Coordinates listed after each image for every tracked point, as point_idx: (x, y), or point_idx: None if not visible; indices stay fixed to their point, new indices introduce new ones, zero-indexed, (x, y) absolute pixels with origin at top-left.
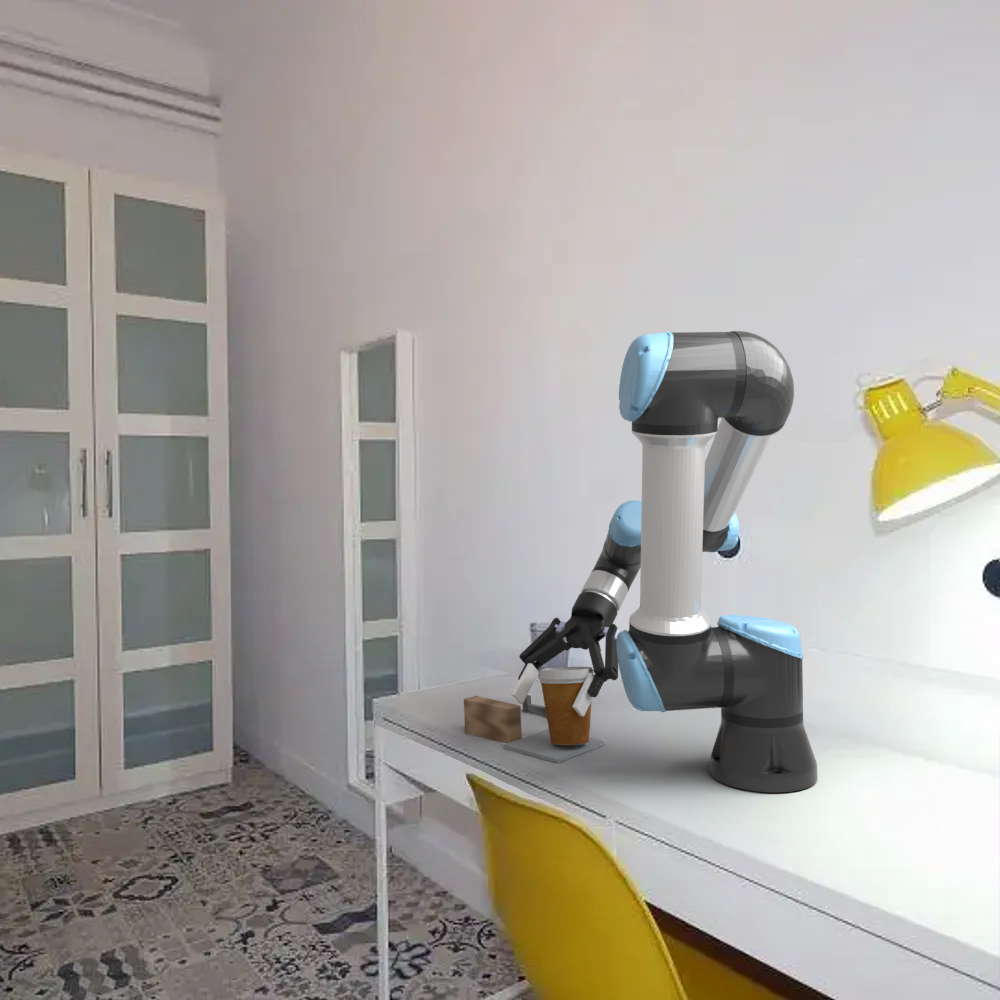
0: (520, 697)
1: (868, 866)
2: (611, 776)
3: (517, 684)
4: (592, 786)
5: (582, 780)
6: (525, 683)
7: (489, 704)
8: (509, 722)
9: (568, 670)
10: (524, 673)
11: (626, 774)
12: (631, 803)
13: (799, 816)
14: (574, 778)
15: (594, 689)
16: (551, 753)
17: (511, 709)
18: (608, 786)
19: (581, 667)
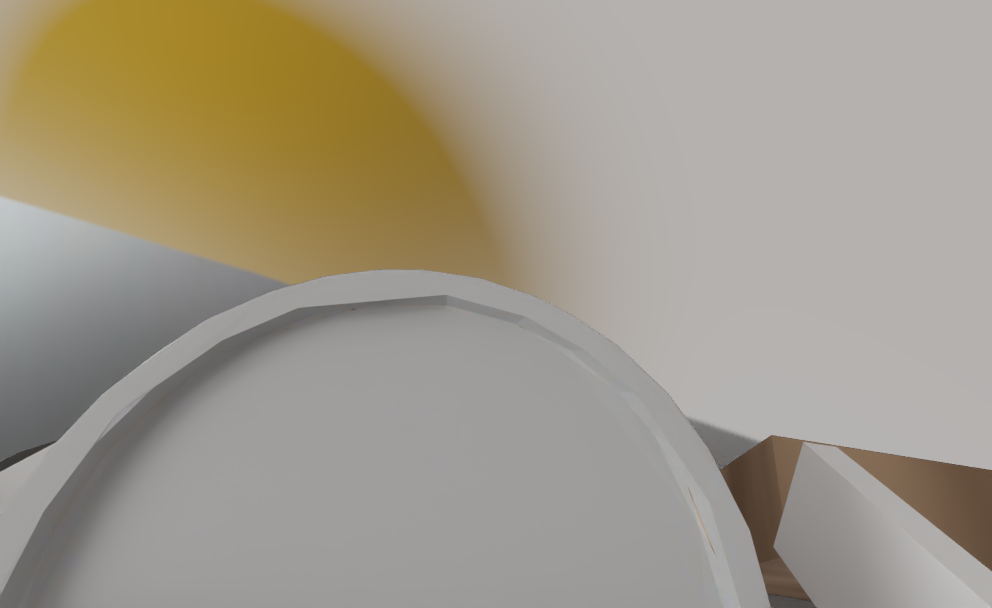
0: (799, 516)
1: None
2: (119, 361)
3: (895, 500)
4: (171, 260)
5: (220, 287)
6: (878, 573)
7: (955, 475)
8: (735, 465)
9: (223, 313)
10: (985, 582)
11: (58, 405)
12: (22, 206)
13: None
14: (253, 291)
15: (6, 463)
16: None
17: (772, 466)
18: (115, 280)
19: None
